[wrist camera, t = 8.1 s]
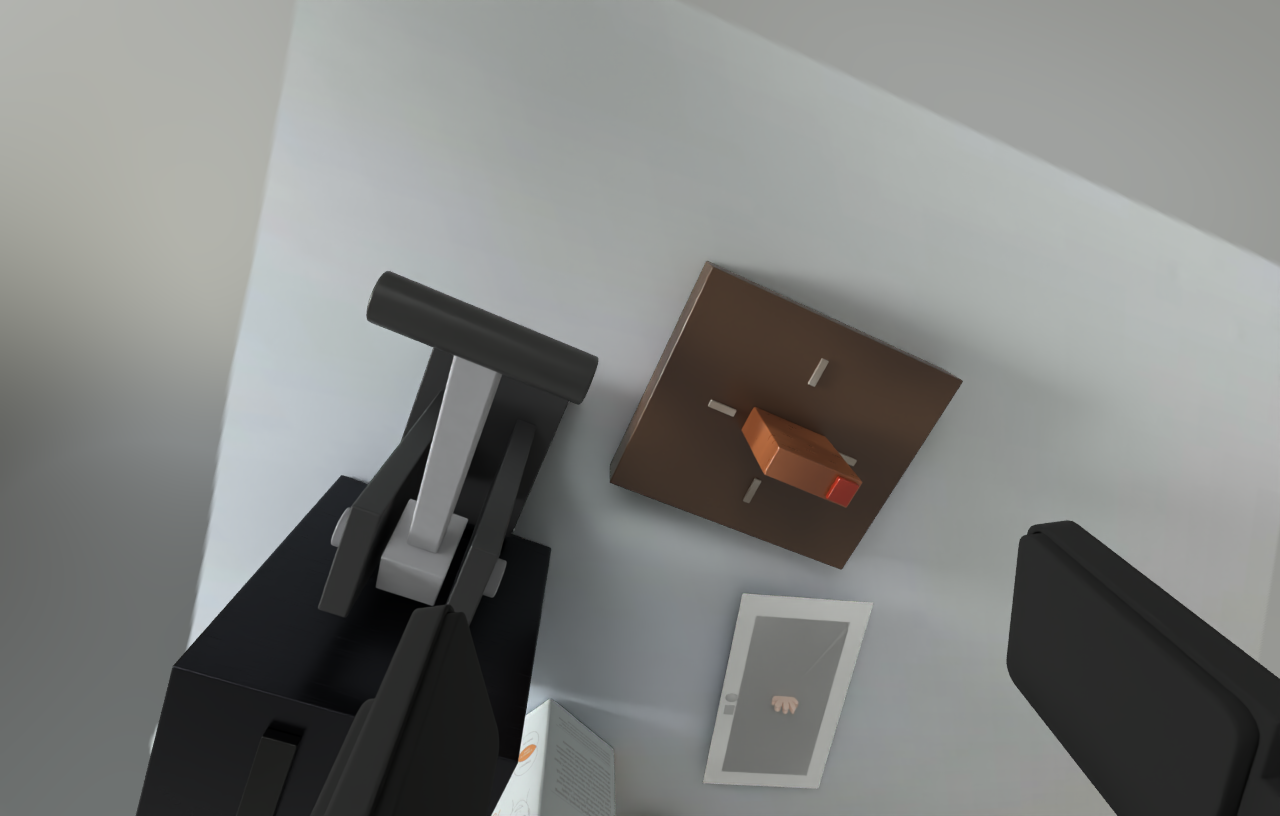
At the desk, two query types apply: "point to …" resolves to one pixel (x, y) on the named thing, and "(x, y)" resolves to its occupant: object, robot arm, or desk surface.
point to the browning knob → (800, 457)
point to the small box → (559, 769)
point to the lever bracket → (485, 499)
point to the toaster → (318, 675)
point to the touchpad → (784, 689)
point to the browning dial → (786, 387)
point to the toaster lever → (460, 414)
